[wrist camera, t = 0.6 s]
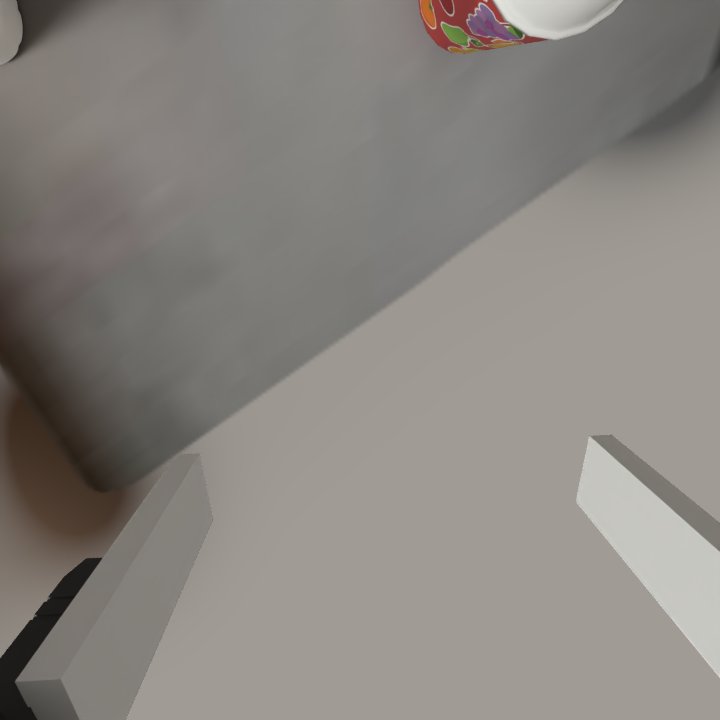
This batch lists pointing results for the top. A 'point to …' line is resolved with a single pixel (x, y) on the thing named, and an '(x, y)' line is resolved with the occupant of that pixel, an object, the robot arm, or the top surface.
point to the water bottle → (9, 30)
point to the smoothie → (508, 21)
